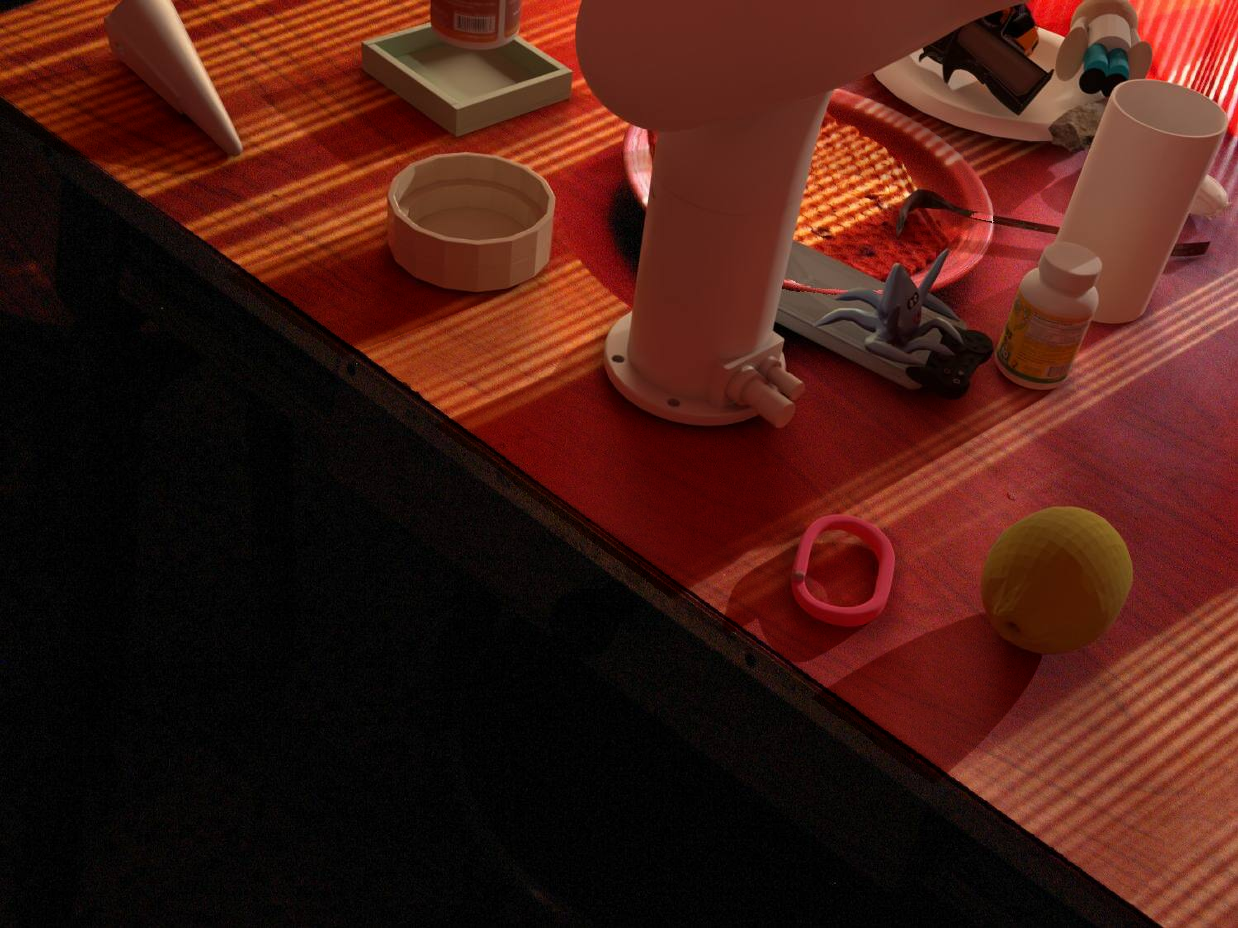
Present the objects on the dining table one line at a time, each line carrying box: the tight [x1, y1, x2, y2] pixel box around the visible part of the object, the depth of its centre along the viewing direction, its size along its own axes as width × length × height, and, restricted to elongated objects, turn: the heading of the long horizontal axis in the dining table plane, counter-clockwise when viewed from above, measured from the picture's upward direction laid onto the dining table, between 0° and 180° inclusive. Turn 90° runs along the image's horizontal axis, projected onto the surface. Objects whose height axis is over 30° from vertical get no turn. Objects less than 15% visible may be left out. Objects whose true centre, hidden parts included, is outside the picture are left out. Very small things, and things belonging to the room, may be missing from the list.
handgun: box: [919, 6, 1054, 116], centre depth 127 cm, size 3×19×12 cm
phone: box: [774, 239, 969, 391], centre depth 102 cm, size 8×16×1 cm, turn 54°
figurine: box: [813, 247, 995, 401], centre depth 95 cm, size 10×12×8 cm
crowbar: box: [895, 188, 1212, 257], centre depth 112 cm, size 26×2×5 cm
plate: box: [871, 26, 1105, 144], centre depth 131 cm, size 25×25×2 cm
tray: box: [360, 22, 574, 138], centre depth 121 cm, size 14×13×3 cm
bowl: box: [386, 151, 557, 293], centre depth 102 cm, size 12×12×4 cm
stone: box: [1048, 97, 1110, 153], centre depth 122 cm, size 13×5×3 cm, turn 135°
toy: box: [1055, 0, 1154, 97], centre depth 130 cm, size 8×6×15 cm
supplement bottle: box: [994, 242, 1102, 391], centre depth 97 cm, size 5×5×10 cm
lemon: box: [979, 506, 1134, 655], centre depth 79 cm, size 11×8×8 cm
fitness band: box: [790, 514, 896, 628], centre depth 83 cm, size 8×6×2 cm
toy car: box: [1189, 173, 1233, 221], centre depth 120 cm, size 5×12×4 cm, turn 44°
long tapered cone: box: [103, 0, 243, 157], centre depth 114 cm, size 6×6×19 cm
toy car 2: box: [984, 6, 1040, 57], centre depth 132 cm, size 12×12×3 cm
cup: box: [1053, 78, 1230, 325], centre depth 103 cm, size 8×8×16 cm
